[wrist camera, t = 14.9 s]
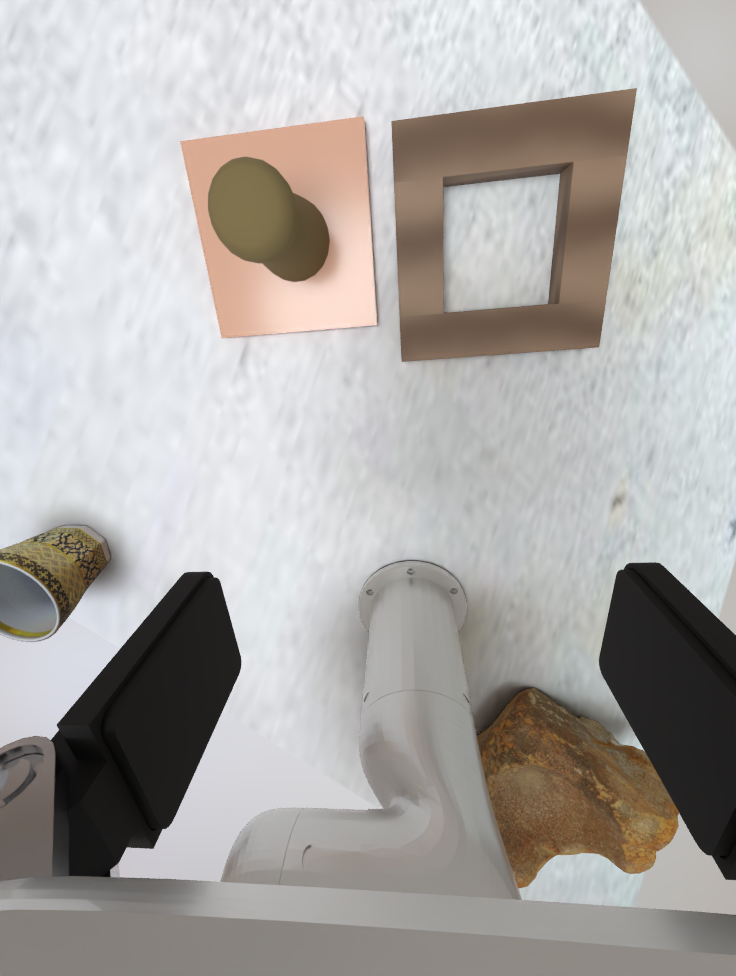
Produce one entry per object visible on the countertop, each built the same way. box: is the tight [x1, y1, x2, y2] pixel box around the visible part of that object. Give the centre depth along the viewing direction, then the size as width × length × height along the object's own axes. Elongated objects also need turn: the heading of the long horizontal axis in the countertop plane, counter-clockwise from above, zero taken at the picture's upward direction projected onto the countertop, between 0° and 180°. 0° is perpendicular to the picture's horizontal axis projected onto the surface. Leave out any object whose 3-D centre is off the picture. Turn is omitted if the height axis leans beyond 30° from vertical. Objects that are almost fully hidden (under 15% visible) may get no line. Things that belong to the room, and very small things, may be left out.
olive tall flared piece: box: [208, 156, 330, 282], centre depth 27 cm, size 6×6×11 cm
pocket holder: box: [392, 88, 637, 362], centre depth 31 cm, size 16×16×2 cm
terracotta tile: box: [180, 116, 378, 338], centre depth 32 cm, size 14×14×1 cm
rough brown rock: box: [477, 688, 679, 888], centre depth 47 cm, size 23×17×15 cm
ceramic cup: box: [0, 525, 111, 642], centre depth 43 cm, size 13×10×10 cm
